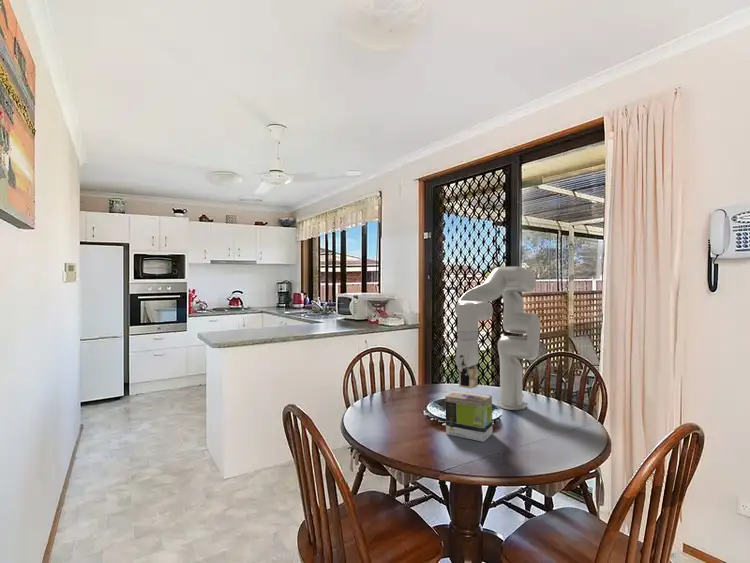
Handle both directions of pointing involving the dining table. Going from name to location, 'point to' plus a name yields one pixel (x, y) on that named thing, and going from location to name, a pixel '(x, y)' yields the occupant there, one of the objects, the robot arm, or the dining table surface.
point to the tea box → (469, 415)
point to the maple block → (471, 377)
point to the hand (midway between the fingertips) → (468, 383)
